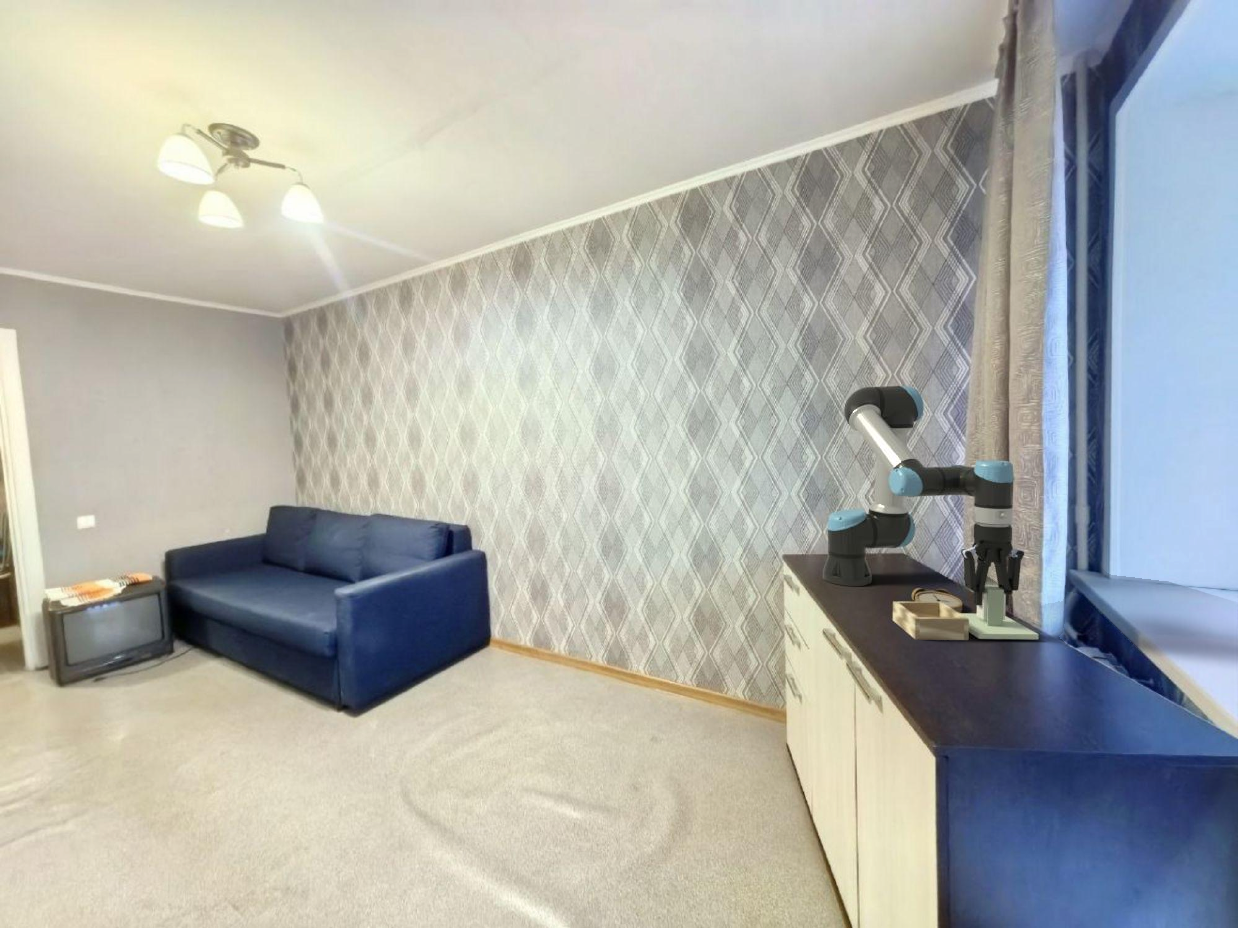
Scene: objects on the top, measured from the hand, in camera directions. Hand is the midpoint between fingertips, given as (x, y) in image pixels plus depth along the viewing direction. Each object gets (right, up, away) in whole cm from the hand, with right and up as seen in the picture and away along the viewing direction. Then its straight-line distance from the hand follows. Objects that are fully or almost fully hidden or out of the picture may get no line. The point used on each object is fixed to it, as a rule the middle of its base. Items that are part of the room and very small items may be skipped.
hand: (990, 617), depth 123 cm
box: (-14, -4, +2) cm, 15 cm away
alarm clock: (-2, -3, +18) cm, 19 cm away
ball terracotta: (-17, -3, +4) cm, 17 cm away
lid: (0, -3, 0) cm, 3 cm away
